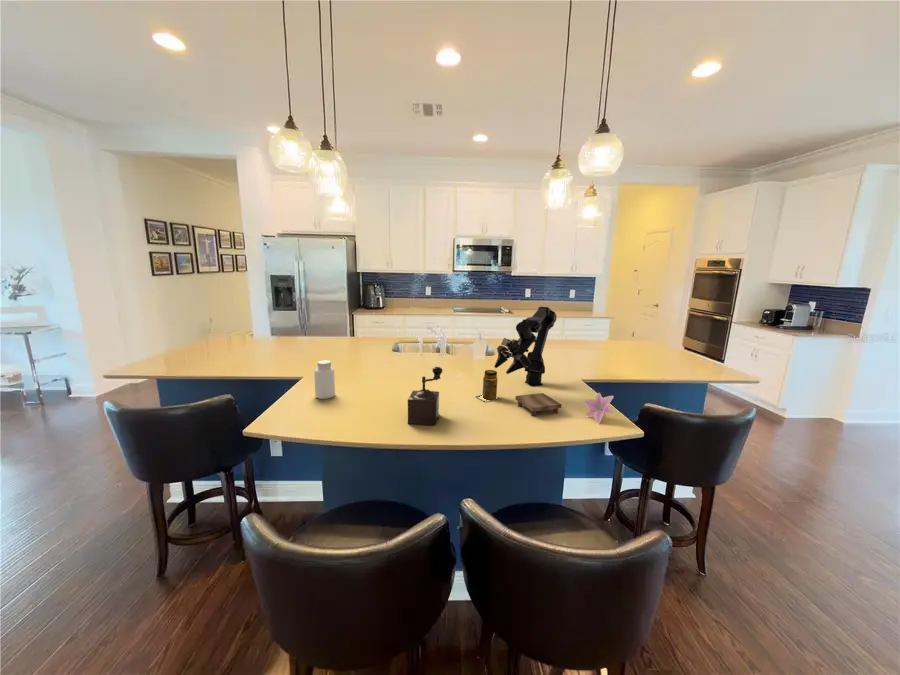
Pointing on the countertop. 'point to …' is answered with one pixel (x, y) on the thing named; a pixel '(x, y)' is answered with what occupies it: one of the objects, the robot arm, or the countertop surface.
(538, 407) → the stool
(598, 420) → the lily
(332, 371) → the pill bottle
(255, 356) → the countertop surface
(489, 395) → the condiment
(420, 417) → the manual coffee grinder
